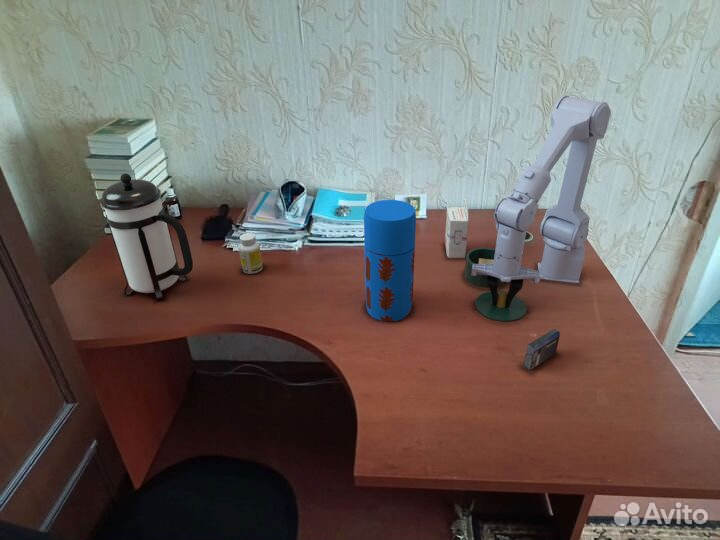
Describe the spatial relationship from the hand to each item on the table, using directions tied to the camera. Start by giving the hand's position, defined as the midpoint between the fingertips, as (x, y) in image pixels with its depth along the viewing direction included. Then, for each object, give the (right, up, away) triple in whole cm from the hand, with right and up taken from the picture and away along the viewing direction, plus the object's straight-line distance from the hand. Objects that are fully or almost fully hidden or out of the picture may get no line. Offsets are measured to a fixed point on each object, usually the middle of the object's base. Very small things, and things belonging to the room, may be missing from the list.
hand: (500, 303), depth 113 cm
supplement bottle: (-61, +8, +18) cm, 64 cm away
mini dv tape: (+4, -11, -15) cm, 18 cm away
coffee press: (-83, +3, +12) cm, 84 cm away
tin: (-1, +6, +12) cm, 13 cm away
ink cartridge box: (-6, +13, +24) cm, 28 cm away
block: (-1, +6, +12) cm, 13 cm away
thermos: (-26, -1, +2) cm, 26 cm away
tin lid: (0, -1, 0) cm, 1 cm away
